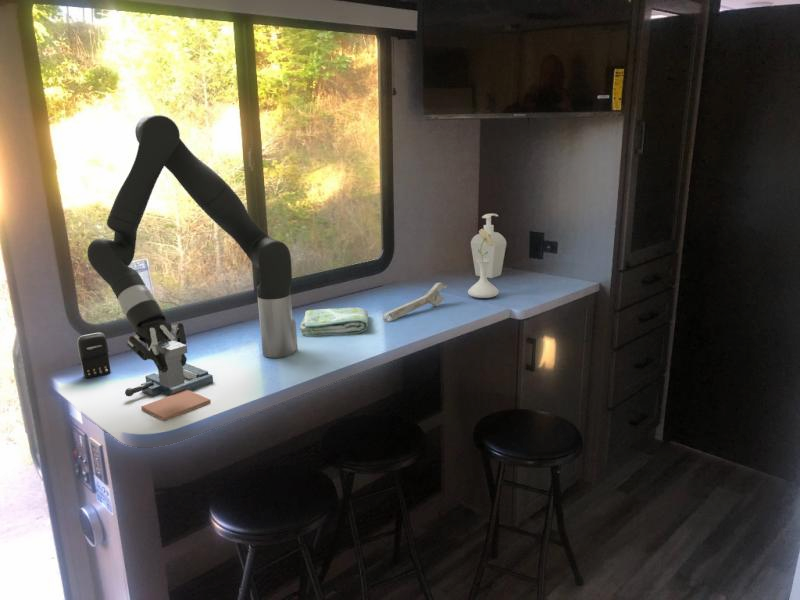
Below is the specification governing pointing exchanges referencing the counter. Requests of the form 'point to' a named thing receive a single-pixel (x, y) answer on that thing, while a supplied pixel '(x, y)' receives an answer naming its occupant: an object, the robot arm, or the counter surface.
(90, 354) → the battery charger
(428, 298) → the wrench
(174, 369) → the gray rectangular prism
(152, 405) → the mat
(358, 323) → the towel
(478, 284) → the flower in vase
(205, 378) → the vise
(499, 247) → the soap bottle
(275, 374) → the counter surface
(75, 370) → the counter surface
